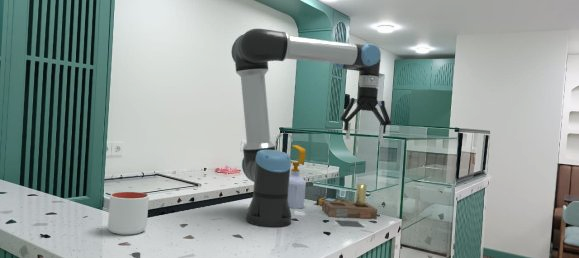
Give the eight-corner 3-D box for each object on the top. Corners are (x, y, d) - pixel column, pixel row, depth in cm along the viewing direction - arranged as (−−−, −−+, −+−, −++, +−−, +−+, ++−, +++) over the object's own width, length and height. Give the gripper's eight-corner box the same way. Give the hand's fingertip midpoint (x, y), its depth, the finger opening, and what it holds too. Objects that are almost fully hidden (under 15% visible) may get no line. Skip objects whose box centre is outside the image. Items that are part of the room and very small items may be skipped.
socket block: (376, 220, 152) (377, 209, 152) (329, 218, 150) (330, 207, 149) (366, 212, 164) (366, 202, 164) (322, 210, 162) (322, 200, 162)
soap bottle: (289, 203, 171) (294, 144, 171) (308, 207, 166) (313, 146, 166) (276, 205, 164) (281, 144, 164) (295, 210, 159) (300, 146, 158)
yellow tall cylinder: (356, 216, 156) (358, 185, 155) (353, 214, 159) (355, 183, 159) (365, 217, 156) (367, 185, 156) (362, 214, 160) (364, 184, 159)
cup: (108, 237, 107) (111, 199, 107) (106, 227, 116) (109, 191, 116) (148, 235, 112) (151, 198, 112) (143, 225, 121) (146, 191, 121)
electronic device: (351, 213, 164) (352, 205, 164) (315, 206, 171) (316, 198, 171) (358, 210, 171) (359, 202, 171) (323, 203, 179) (324, 195, 179)
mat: (341, 227, 137) (341, 226, 137) (335, 221, 145) (335, 220, 145) (364, 228, 138) (364, 227, 138) (357, 222, 146) (357, 221, 146)
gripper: (340, 83, 158) (335, 138, 159) (401, 89, 162) (397, 143, 162) (335, 85, 166) (331, 137, 166) (394, 90, 169) (390, 142, 170)
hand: (363, 140), depth 164 cm, fingers open, 13 cm apart
